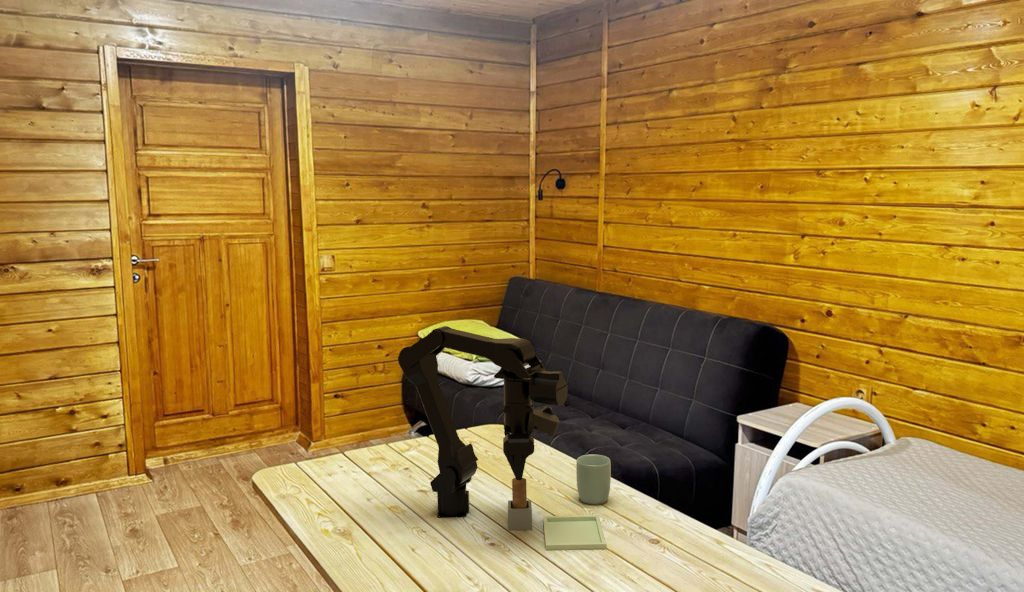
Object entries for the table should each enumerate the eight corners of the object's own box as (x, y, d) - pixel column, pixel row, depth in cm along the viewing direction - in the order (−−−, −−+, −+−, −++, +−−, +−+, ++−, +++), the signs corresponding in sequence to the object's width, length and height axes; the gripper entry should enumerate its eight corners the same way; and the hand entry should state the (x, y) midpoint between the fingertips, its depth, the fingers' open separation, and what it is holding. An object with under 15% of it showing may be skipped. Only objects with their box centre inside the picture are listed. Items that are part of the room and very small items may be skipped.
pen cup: (508, 532, 165) (507, 509, 165) (508, 522, 170) (508, 500, 170) (532, 532, 165) (531, 509, 165) (531, 522, 170) (531, 500, 170)
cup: (609, 509, 176) (609, 466, 175) (574, 507, 178) (574, 464, 176) (612, 496, 184) (611, 455, 182) (578, 494, 185) (578, 453, 184)
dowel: (513, 528, 166) (512, 482, 165) (513, 522, 169) (512, 477, 168) (527, 527, 166) (526, 482, 165) (527, 522, 169) (526, 477, 168)
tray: (545, 552, 156) (545, 545, 156) (543, 522, 170) (543, 516, 170) (606, 551, 156) (606, 544, 156) (598, 521, 170) (598, 515, 170)
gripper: (559, 412, 155) (559, 488, 157) (553, 388, 174) (554, 456, 176) (502, 413, 155) (503, 489, 157) (503, 389, 173) (504, 457, 176)
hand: (518, 471), depth 166 cm, fingers open, 9 cm apart
